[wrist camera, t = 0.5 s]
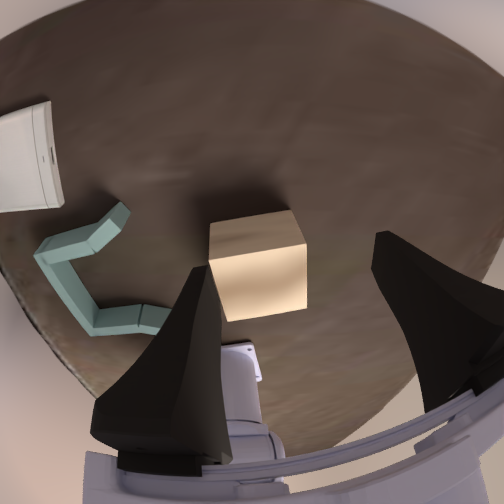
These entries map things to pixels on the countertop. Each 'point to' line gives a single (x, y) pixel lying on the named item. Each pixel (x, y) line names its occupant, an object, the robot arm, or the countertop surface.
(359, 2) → the countertop surface
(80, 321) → the dock
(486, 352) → the robot arm
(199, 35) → the countertop surface
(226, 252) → the birch block
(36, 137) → the hard drive
